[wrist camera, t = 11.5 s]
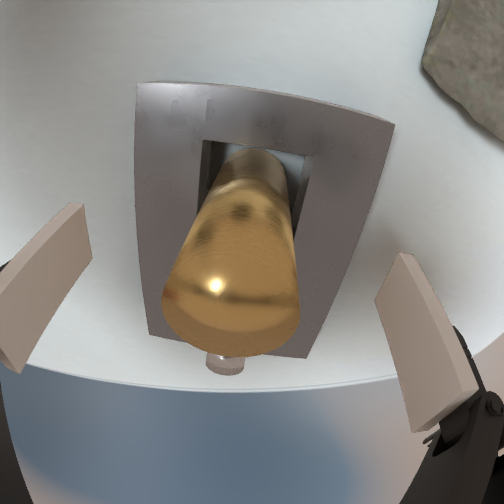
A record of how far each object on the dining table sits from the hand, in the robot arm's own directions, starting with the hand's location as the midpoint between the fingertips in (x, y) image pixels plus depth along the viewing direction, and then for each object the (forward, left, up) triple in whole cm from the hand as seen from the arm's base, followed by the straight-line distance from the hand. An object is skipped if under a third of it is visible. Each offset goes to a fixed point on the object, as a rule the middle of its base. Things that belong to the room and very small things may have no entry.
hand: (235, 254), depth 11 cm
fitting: (0, 0, -9) cm, 9 cm away
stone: (-15, +17, -10) cm, 25 cm away
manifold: (+4, 0, -9) cm, 10 cm away
